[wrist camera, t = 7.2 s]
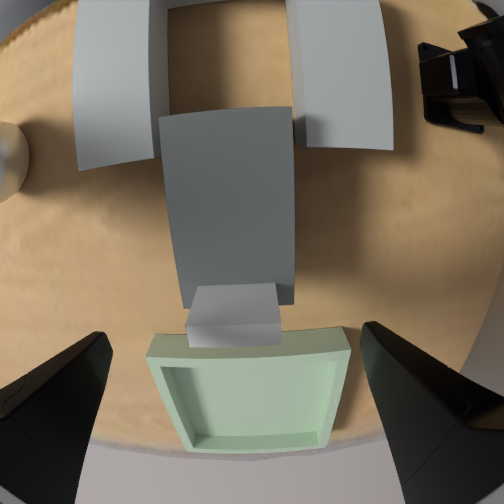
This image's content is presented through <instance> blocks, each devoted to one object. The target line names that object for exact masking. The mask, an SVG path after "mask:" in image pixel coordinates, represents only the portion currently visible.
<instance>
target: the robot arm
mask: <svg viewBox="0 0 504 504" xmlns="http://www.w3.org/2000/svg"><path fill="white" fill-rule="evenodd" d="M457 33H458V34H459V36H460V38H461V39H462V40H464V42H465V43H466V45H467V47H468V48H464V49H460V50H457V51H453V52H452V51H449V50H446V49H443V48H441V47H438V46H434V45H431V44H428V43H425V42H422V43H420V44H418V53H419V60H420V63H419V66H420V75H421V86H422V94H423V103H424V118H425V120H426V121H427V122H429V123H433V124H438V125H443V126H448V127H453V128H458V129H462V130H466V131H470V132H475V133H479V134H482V133H483V132H484V125H487V126H498V127H504V15H503V16H499V17H496V18H493V19H490V20H487V21H484V22H481V23H479V24H476V25H473V26H471V27H468V28H466V29H463V30H461V31H458V32H457ZM423 47H424V48H425V49H426V51H425V50H424V49H423ZM430 114H431V115H432V119H431V118H430ZM479 127H480V129H479ZM360 349H361V353H362V357H363V361H364V366H365V370H366V374H367V379H368V383H369V386H370V389H371V392H372V395H373V398H374V401H375V404H376V407H377V410H378V412H379V415H380V418H381V421H382V425H383V428H384V431H385V434H386V437H387V440H388V443H389V447H390V450H391V453H392V456H393V460H394V463H395V466H396V470H397V473H398V477H399V480H400V484H401V486H402V487H401V488H402V492H403V496H404V500H405V504H504V397H503V396H501V395H499V394H497V393H495V392H493V391H491V390H489V389H487V388H485V387H483V386H481V385H479V384H477V383H475V382H473V381H471V380H470V379H468V378H466V377H464V376H463V375H461V374H459V373H458V372H456V371H455V370H453V369H451V368H450V367H449V368H448V366H447V365H445V364H443V363H442V362H440V361H439V360H437V359H435V358H434V357H432V356H431V355H429V354H428V353H426V352H424V351H423V350H421V349H420V348H418V347H416V346H415V345H413V344H412V343H410V342H408V341H407V340H405V339H404V338H402V337H400V336H399V335H397V334H396V333H394V332H392V331H391V330H389V329H388V328H386V327H384V326H383V325H381V324H380V323H378V322H376V321H370V322H365V323H364V324H363V327H362V333H361V338H360ZM112 356H113V350H112V347H111V345H110V342H109V340H108V337H107V335H106V334H105V332H99V331H95V332H93V333H91V334H89V335H88V336H86V337H85V338H83V339H81V340H80V341H78V342H76V343H75V344H73V345H72V346H70V347H68V348H67V349H65V350H64V351H62V352H60V353H59V354H57V355H56V356H54V357H52V358H51V359H49V360H48V361H46V362H44V363H43V364H41V365H40V366H38V367H36V368H35V369H33V370H32V371H30V372H28V373H27V374H25V375H24V376H22V377H20V378H19V379H17V380H16V381H14V382H12V383H11V384H9V385H7V386H5V387H3V388H2V389H0V504H75V499H76V494H77V489H78V484H79V479H80V475H81V471H82V466H83V462H84V458H85V455H86V450H87V447H88V443H89V440H90V436H91V432H92V429H93V426H94V422H95V419H96V416H97V412H98V409H99V406H100V403H101V400H102V397H103V393H104V390H105V386H106V382H107V378H108V373H109V369H110V365H111V360H112Z"/></svg>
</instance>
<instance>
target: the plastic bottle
mask: <svg viewBox="0 0 504 504" xmlns="http://www.w3.org/2000/svg"><path fill="white" fill-rule="evenodd" d="M28 167H29V147H28V142H27V140H26V137H25V135H24V134H23V132H22V131H21V130H20V129H19V128H18V126H16V125H15V124H12V123H7V122H1V121H0V203H1V202H4V201H5V200H6V199H8V198H9V197H11V196H12V195H14V194H15V193H16V192H17V191H18V190H19V189H20V187H21V185H22V183H23V181H24V179H25V177H26V175H27V171H28Z"/></svg>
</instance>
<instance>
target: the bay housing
mask: <svg viewBox="0 0 504 504" xmlns="http://www.w3.org/2000/svg"><path fill="white" fill-rule="evenodd" d="M218 1H229V0H79V3H78V10H77V18H76V27H75V38H74V52H73V119H74V134H75V146H76V156H77V164H78V172H80V171H84V170H89V169H94V168H99V167H104V166H109V165H115V164H120V163H126V162H132V161H138V160H144V159H151V158H156V157H160V156H162V155H161V144H160V131H159V117H164V116H170V103H169V81H168V36H167V28H168V9H172V8H177V7H182V6H188V5H195V4H201V3H209V2H218ZM285 4H286V14H287V24H288V34H289V45H290V57H291V70H292V85H293V101H294V120H295V143H296V145H298V146H304V147H340V148H365V149H382V150H393V107H392V91H391V78H390V68H389V59H388V51H387V44H386V37H385V31H384V25H383V19H382V14H381V9H380V4H379V0H285Z"/></svg>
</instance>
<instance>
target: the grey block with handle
mask: <svg viewBox="0 0 504 504" xmlns="http://www.w3.org/2000/svg"><path fill="white" fill-rule="evenodd" d="M159 131H160V144H161V155H162V166H163V175H164V185H165V193H166V202H167V209H168V217H169V224H170V231H171V238H172V245H173V251H174V257H175V263H176V269H177V275H178V280H179V286H180V291H181V297H182V302H183V307H184V309H190V312H189V315H188V318H187V322H186V325H185V328H186V333H187V337H188V342H189V346H190V347H195V348H215V347H255V346H275V345H281V318H280V311H279V305H294V278H295V193H294V152H293V126H292V107H252V108H234V109H221V110H210V111H201V112H192V113H184V114H177V115H170V116H164V117H159Z"/></svg>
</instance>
